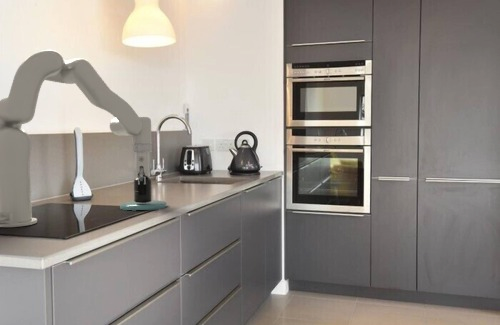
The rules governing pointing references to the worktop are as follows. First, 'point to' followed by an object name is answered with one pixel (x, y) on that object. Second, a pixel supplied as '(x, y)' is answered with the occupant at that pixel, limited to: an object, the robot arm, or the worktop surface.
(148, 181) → the supplement bottle
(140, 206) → the dish
